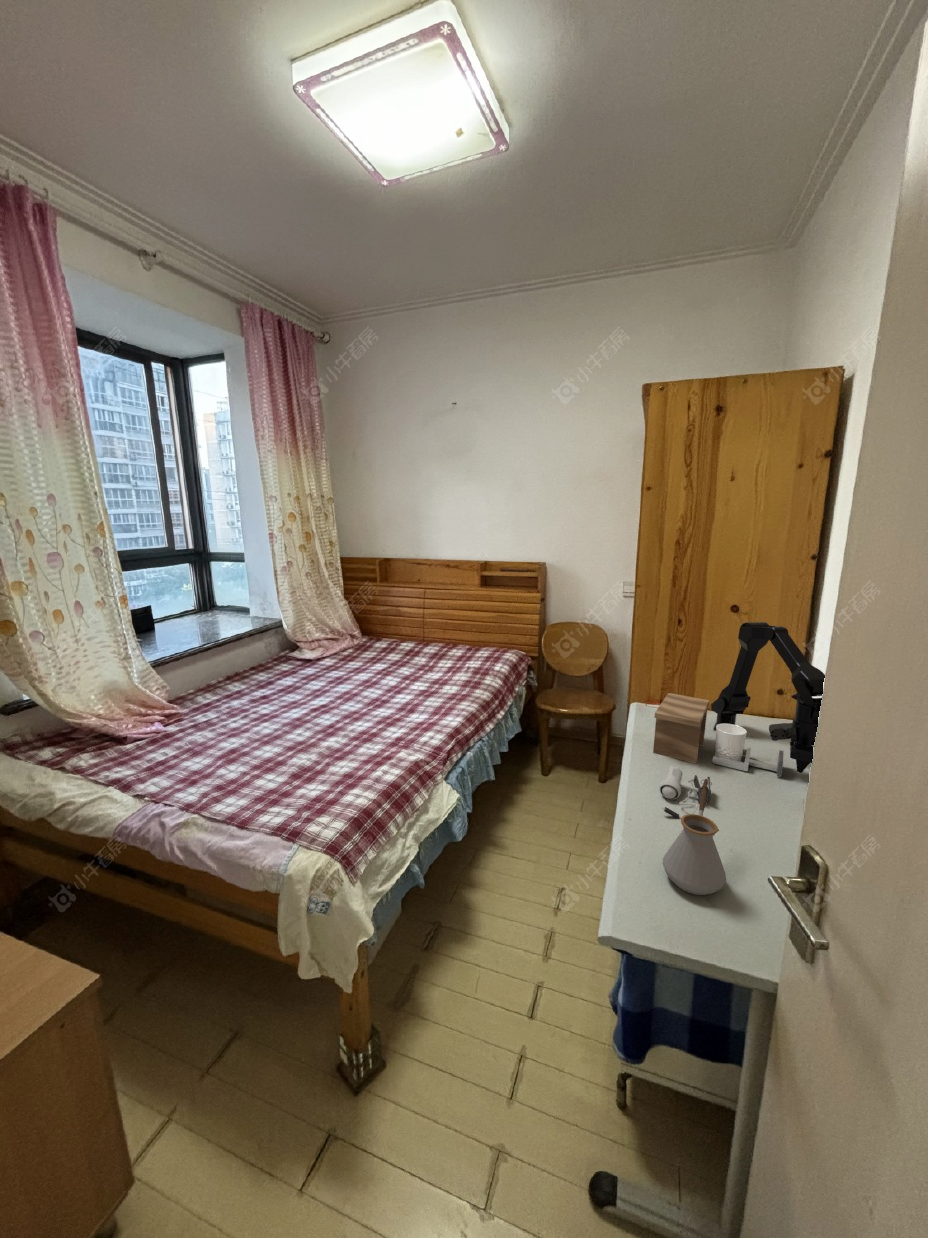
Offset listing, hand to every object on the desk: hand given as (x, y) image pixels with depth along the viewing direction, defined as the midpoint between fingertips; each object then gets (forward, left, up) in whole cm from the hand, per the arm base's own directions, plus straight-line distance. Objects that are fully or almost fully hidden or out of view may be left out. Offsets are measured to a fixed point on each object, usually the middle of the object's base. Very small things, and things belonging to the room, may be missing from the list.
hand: (799, 772), depth 139 cm
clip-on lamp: (+31, -25, -2) cm, 40 cm away
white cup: (0, -18, -2) cm, 18 cm away
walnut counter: (0, -31, -1) cm, 31 cm away
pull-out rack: (0, -13, -1) cm, 13 cm away
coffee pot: (+55, -19, -2) cm, 58 cm away
